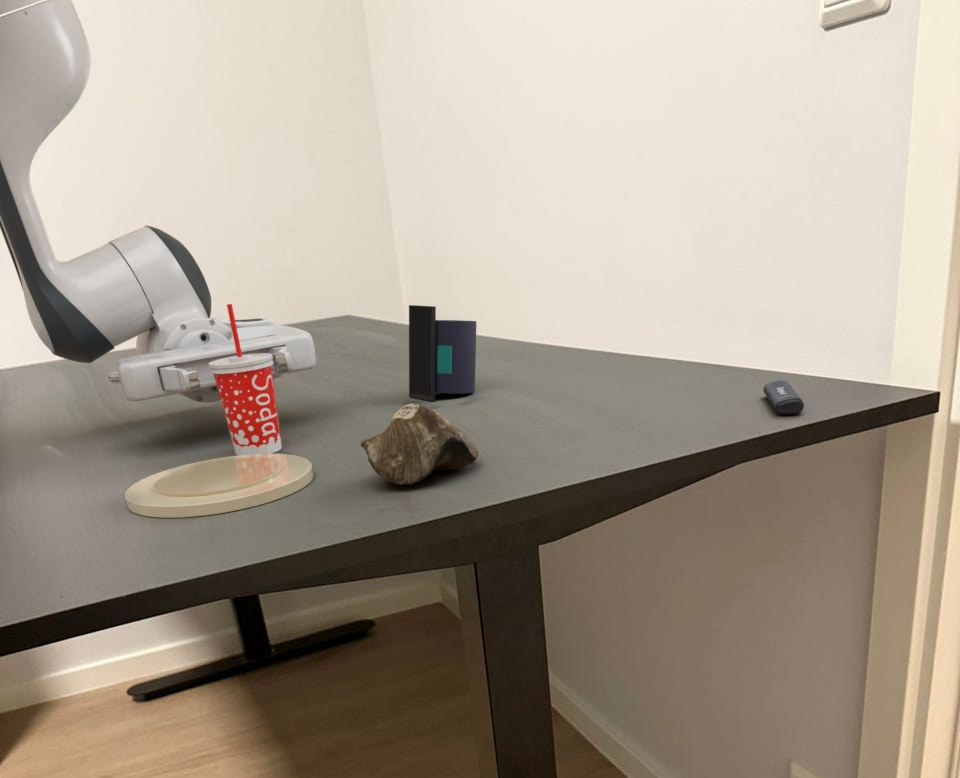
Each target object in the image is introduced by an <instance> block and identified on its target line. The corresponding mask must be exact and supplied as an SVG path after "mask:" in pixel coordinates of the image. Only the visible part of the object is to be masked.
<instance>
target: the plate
mask: <svg viewBox="0 0 960 778" xmlns="http://www.w3.org/2000/svg"><path fill="white" fill-rule="evenodd" d="M313 479H314V469H313V464H312V463H311V461H310V460H309V459H308V458H306V457H303V456H299V455H294V454H288V453H271V454H249V455H238V456H237V455H230V456H224V457H223V456H222V457H217V458H211V459H210V458H209V459H206V460H200V461H196V462H195V461H194V462H191V463H187V464H183V465H179V466H176V467H171V468H168V469H166V470H162V471H160V472H156V473H154V474H152V475H149V476H147V477H144V478H142V479H141V480H139V481H137V482H135V483H134V484H132V485H131V486H129V487H128V488H127V489H126V490H125V492H124V498H125V502H126V507H127V508H128V510H129V511H130V512H132V513H134V514H136V515H139V516H142V517H148V518H160V519H180V518H181V519H183V518H196V517H204V516H206V517H207V516H213V515H220V514H225V513H231V512H237V511H240V510H245V509H250V508H254V507H258V506H260V505H261V506H262V505H265V504H268V503H271V502H274V501H278V500H281V499H283V498H286V497H288V496H290V495H292V494H294V493H297V492H298V491H300V490H302V489H304V488H305V487H306V486H308V485H309V484H310V483H311V482H312V481H313Z"/></svg>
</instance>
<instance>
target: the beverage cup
mask: <svg viewBox="0 0 960 778" xmlns="http://www.w3.org/2000/svg"><path fill="white" fill-rule="evenodd" d="M226 309H227V313H228V317H229V320H230V323H231V328H232V333H233V338H234V343H235V348H236V353H237V356H232V357H227V358H222V359H218V360H215V361H212V362H210V363H208V366H209V367H210V372H211V373H213V374H214V378H215V382H216V385H217V389H218V392H219V396H220V400H219V401H220V403H221V407H222V410H223V413H224V417H225V421H226V424H227V428H228V431H229V435H230V439H231V443H232V447H233V449H234V450H233V451H234V453H235V456H238V455H249V454H275V453H277V452H279V451H281V450H282V448H283V446H282V437H281V429H280V420H279V414H278V406H277V398H276V390H275V382H274V379H273V374H272V366H271V365H272V364H273V360H272V359H273V356H272V354H265V353H261V354H247V355H242V352H241V347H240V342H239V337H238V332H237V327H236V322H235V320H236V318H235V312H234V308H233V303H227V304H226Z"/></svg>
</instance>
